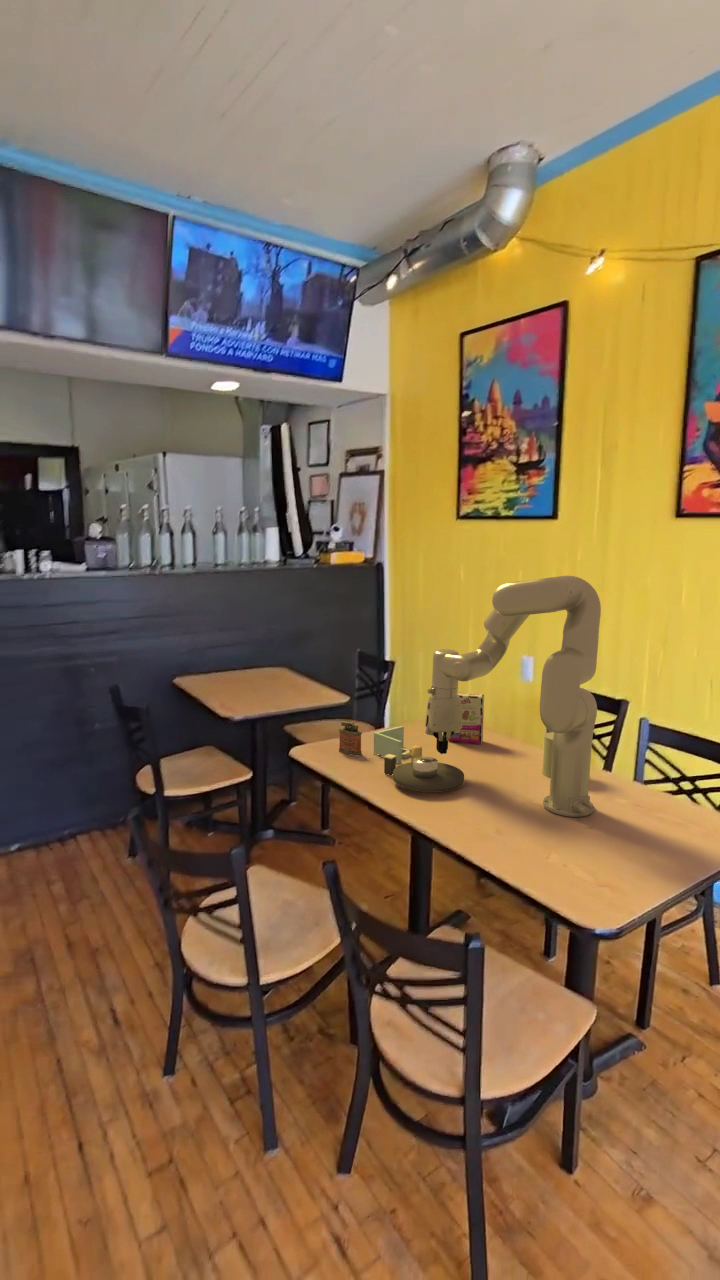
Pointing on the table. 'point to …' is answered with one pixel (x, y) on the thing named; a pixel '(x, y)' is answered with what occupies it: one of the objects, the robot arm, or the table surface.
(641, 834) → the table surface
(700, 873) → the table surface
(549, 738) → the can
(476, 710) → the candy bar box
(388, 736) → the l-shaped corner panel
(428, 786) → the turntable
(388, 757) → the post
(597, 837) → the table surface
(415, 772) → the cover
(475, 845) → the table surface
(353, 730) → the lighter
